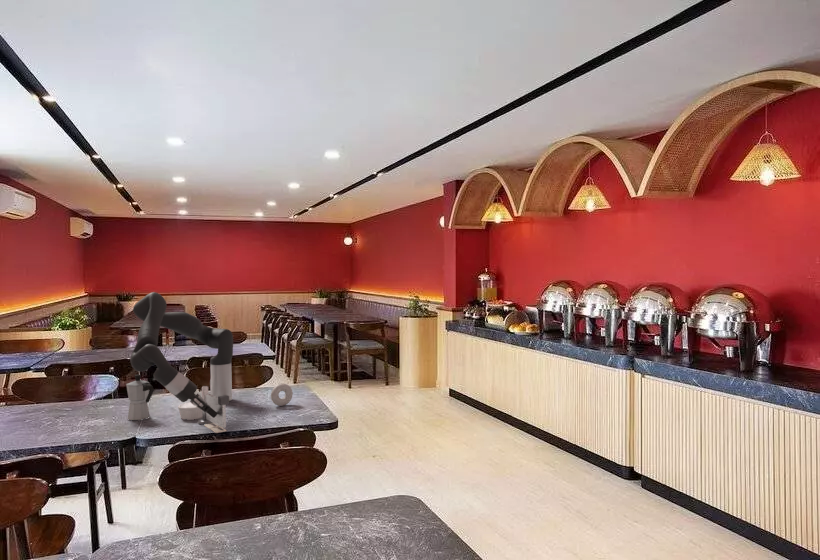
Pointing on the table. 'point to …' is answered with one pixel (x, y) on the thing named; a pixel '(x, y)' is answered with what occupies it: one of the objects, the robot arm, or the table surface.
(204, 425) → the label
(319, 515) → the table surface
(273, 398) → the donut
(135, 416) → the coffee maker
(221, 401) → the white upright panel
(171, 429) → the table surface
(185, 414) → the ramekin
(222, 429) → the label
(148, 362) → the robot arm
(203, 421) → the pivot base
